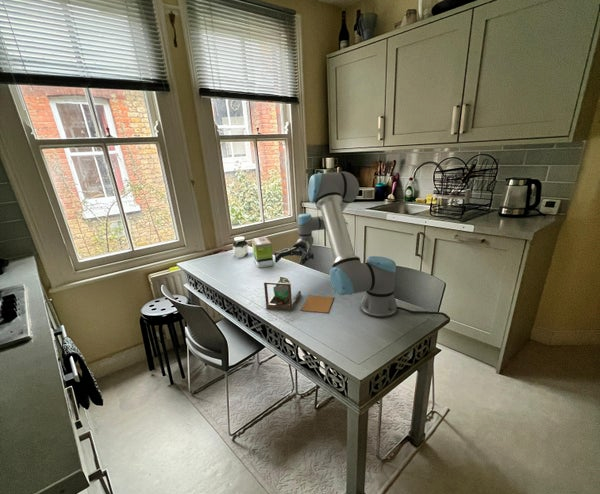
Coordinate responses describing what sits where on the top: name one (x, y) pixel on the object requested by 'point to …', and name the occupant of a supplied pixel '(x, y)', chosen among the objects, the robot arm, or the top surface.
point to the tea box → (262, 252)
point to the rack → (280, 306)
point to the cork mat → (317, 304)
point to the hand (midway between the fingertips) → (289, 260)
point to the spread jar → (240, 247)
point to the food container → (281, 292)
